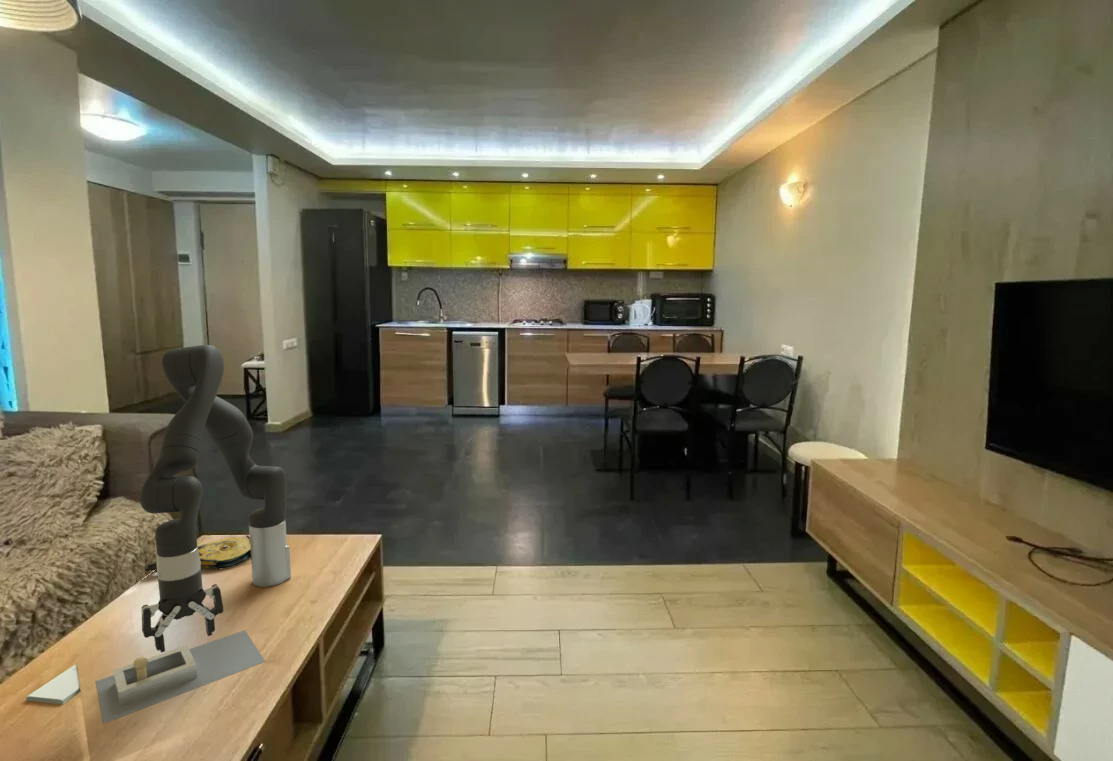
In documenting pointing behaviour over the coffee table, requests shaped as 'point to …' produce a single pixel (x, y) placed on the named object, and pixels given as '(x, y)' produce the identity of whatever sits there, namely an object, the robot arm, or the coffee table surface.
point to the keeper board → (211, 666)
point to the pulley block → (220, 554)
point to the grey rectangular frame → (158, 681)
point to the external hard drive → (58, 688)
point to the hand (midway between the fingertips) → (186, 642)
